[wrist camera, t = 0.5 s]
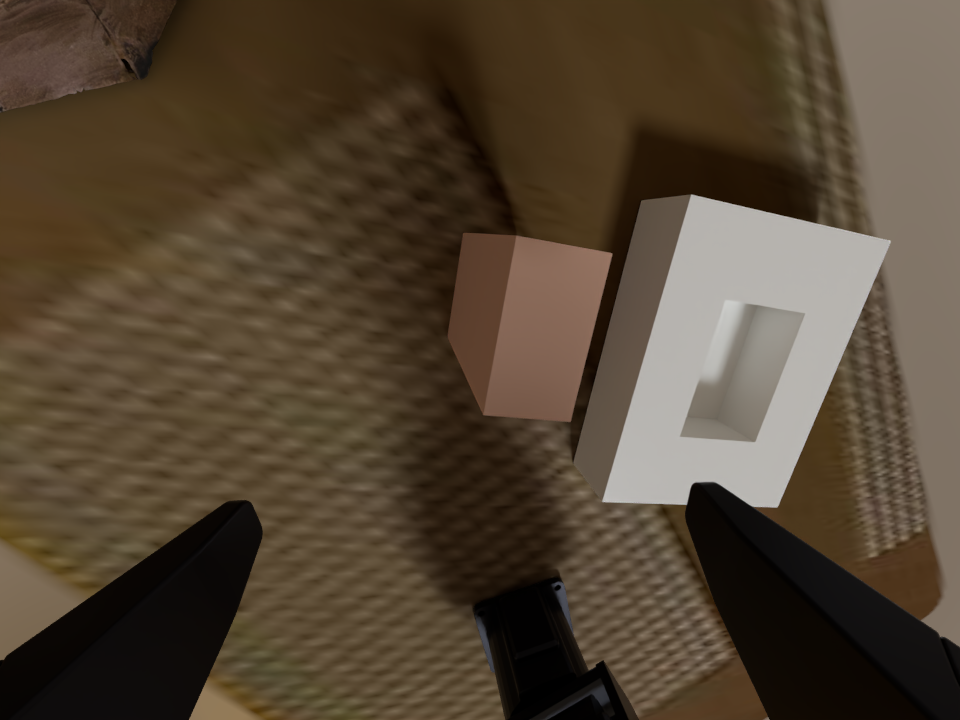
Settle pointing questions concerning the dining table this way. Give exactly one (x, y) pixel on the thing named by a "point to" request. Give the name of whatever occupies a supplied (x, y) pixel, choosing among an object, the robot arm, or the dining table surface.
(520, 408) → the pink rectangular block
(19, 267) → the dining table surface
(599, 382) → the white slotted block
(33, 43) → the wooden fragment
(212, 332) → the dining table surface
